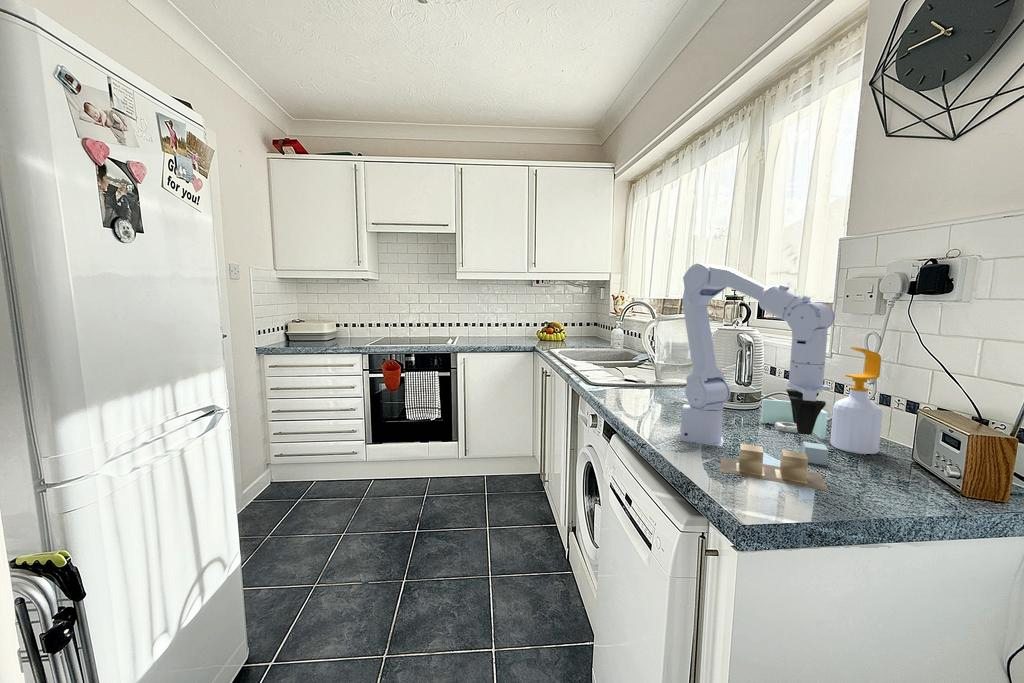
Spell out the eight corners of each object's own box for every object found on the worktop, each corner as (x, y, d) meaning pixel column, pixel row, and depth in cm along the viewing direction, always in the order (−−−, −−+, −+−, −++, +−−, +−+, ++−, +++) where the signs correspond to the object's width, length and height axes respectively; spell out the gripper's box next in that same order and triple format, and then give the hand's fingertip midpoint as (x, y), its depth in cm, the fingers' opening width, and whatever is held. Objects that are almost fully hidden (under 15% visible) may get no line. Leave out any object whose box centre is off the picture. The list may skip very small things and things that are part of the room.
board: (719, 474, 86) (719, 471, 86) (721, 459, 94) (721, 457, 94) (828, 493, 77) (828, 490, 77) (820, 476, 85) (820, 473, 85)
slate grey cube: (804, 464, 92) (805, 447, 91) (801, 458, 95) (802, 441, 95) (826, 468, 90) (828, 450, 89) (823, 462, 93) (824, 444, 93)
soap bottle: (821, 442, 106) (829, 345, 104) (858, 442, 106) (867, 345, 104) (848, 455, 98) (857, 349, 95) (889, 455, 97) (899, 349, 95)
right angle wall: (760, 424, 124) (762, 399, 123) (808, 428, 120) (810, 402, 119) (772, 436, 112) (774, 408, 112) (825, 441, 109) (827, 412, 108)
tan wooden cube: (781, 477, 83) (783, 455, 83) (780, 470, 86) (781, 449, 86) (806, 482, 81) (808, 459, 81) (803, 474, 85) (805, 452, 84)
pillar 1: (739, 470, 86) (740, 449, 86) (739, 464, 90) (740, 443, 89) (761, 474, 85) (763, 452, 84) (760, 467, 88) (762, 446, 88)
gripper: (839, 369, 76) (832, 442, 78) (825, 359, 89) (820, 422, 90) (792, 366, 80) (787, 436, 81) (786, 357, 93) (781, 417, 94)
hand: (802, 428), depth 86 cm, fingers open, 7 cm apart
